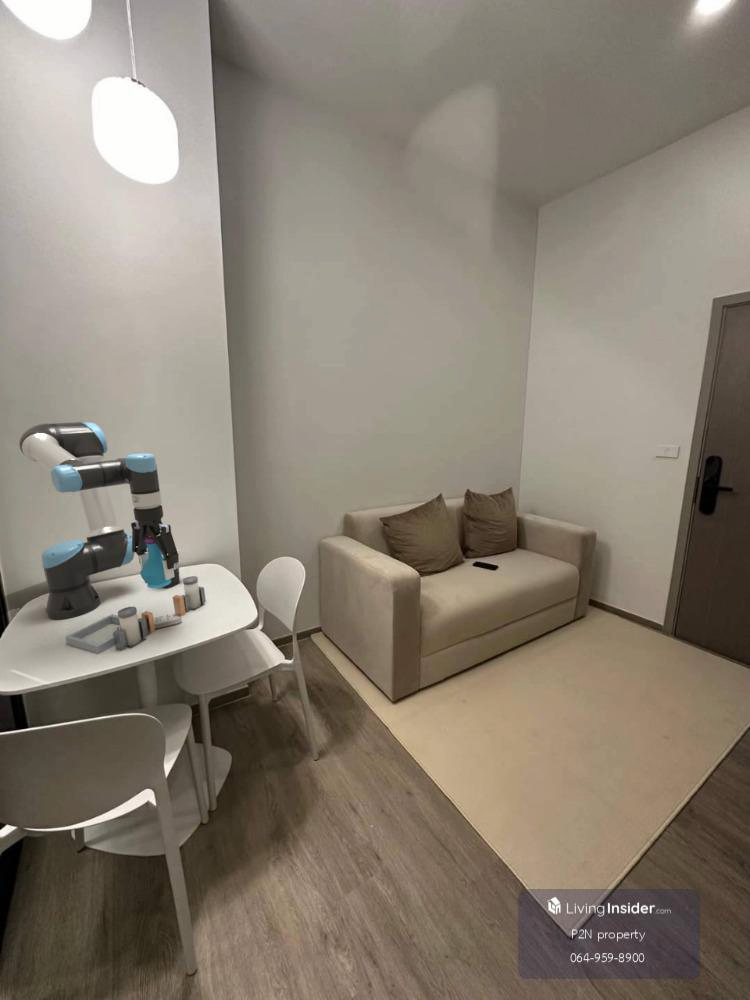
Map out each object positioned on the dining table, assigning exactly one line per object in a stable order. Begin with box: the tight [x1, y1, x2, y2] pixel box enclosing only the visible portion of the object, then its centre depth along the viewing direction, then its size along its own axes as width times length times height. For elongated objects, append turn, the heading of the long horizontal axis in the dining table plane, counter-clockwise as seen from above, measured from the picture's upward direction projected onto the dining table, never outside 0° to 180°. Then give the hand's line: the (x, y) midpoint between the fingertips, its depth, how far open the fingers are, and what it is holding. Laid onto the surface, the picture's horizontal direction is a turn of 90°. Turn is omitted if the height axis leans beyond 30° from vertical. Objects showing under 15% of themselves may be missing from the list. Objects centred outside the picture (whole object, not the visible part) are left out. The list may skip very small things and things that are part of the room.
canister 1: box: [117, 606, 141, 646], centre depth 115 cm, size 5×5×10 cm
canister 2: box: [182, 575, 201, 609], centre depth 136 cm, size 5×5×10 cm
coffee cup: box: [161, 546, 181, 589], centre depth 155 cm, size 10×10×15 cm
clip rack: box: [112, 586, 207, 651], centre depth 126 cm, size 6×31×7 cm, turn 158°
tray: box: [65, 613, 120, 655], centre depth 120 cm, size 14×14×3 cm
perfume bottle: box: [139, 537, 174, 589], centre depth 122 cm, size 9×9×15 cm
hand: (158, 575), depth 124 cm, fingers closed on perfume bottle, 9 cm apart
